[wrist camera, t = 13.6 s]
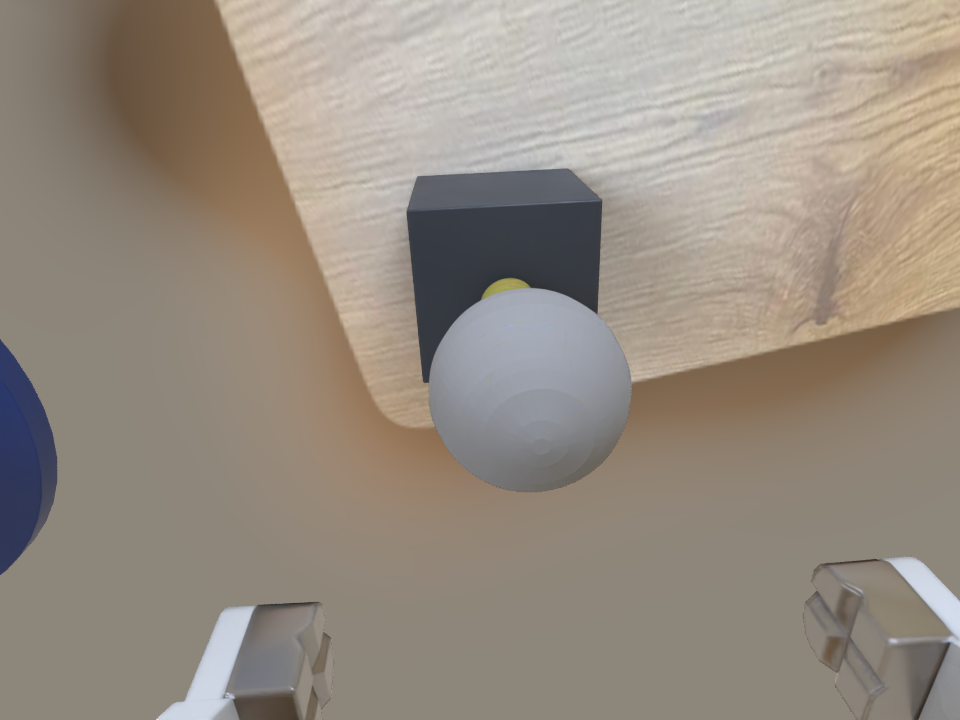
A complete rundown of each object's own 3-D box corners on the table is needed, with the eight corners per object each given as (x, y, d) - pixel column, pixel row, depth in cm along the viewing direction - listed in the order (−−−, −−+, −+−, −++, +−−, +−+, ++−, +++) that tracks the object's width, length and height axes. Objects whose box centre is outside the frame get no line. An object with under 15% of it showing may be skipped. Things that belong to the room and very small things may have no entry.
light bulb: (607, 276, 23) (706, 413, 14) (525, 384, 25) (566, 566, 16) (486, 197, 22) (510, 294, 13) (409, 319, 24) (382, 479, 15)
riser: (428, 318, 31) (423, 383, 25) (416, 176, 28) (405, 210, 22) (566, 310, 31) (595, 373, 25) (569, 168, 28) (602, 199, 22)
